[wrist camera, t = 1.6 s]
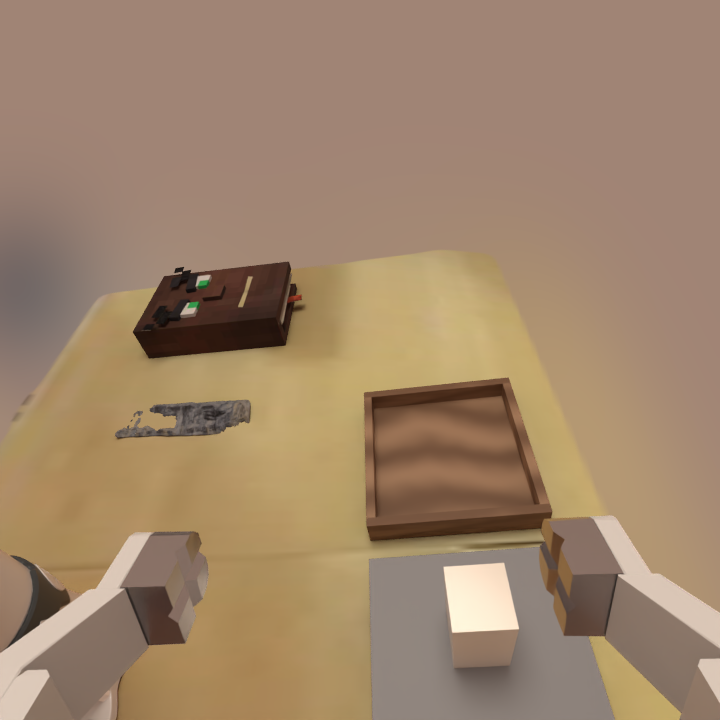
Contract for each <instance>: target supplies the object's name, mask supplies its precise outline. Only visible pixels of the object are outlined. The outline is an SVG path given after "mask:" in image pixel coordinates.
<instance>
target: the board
mask: <svg viewBox="0 0 720 720" xmlns="http://www.w3.org/2000/svg"><path fill="white" fill-rule="evenodd" d="M539 549H540V547H533V548H519V549H505V550H491V551H476V552H462V553H448V554H434V555H420V556H406V557H391V558H377V559H369V578H370V624H371V671H372V718H373V720H615V718H614V715H613V712H612V709H611V706H610V703H609V700H608V696H607V693H606V690H605V687H604V684H603V681H602V678H601V675H600V671H599V668H598V665H597V662H596V659H595V656H594V653H593V650H592V646H591V643H590V640H589V637H588V636H564V635H563V632H562V630H561V627H560V625H559V622H558V619H557V617H556V614H555V612H554V609H553V604H554V596H553V595H552V594H551V593H549V592H548V591H547V590H546V588H545V585H544V582H543V579H542V575H541V571H540V563H539ZM493 563H504V565H505V569H506V574H507V578H508V582H509V587H510V591H511V595H512V600H513V604H514V609H515V613H516V617H517V622H518V626H519V632H518V635H517V639H516V643H515V647H514V651H513V655H512V659H511V662H510V666H491V667H470V668H453V660H452V653H451V645H450V637H449V630H448V622H447V614H446V603H445V586H444V568H443V567H449V566H464V565H478V564H493Z"/></svg>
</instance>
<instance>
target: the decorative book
mask: <svg viewBox="0 0 720 720" xmlns="http://www.w3.org/2000/svg"><path fill="white" fill-rule="evenodd" d="M183 269H184V267H181V268H176V269H175V273H177V272H182V274H179V275H171V276H164V278H163V279H162V281H161V283H160V285H159V286H158V288H157V290H156V292H155V293H154V295H153V297H152V299H151V301H150V302H149V304H148V306H147V308H146V309H145V311H144V313H143V315H142V317H141V318H140V320H139V322H138V324H137V325H136V327H135V329H134V331H133V333H134V335H135V336H136V338H137V340H138V341H139V343H140V344H141V346H142V348H143V349H144V351H145V352H146V354H147V356H148V357H149V358H159V357H170V356H180V355H191V354H201V353H212V352H222V351H233V350H243V349H254V348H264V347H275V346H285V345H286V340H287V335H288V330H289V325H290V320H291V315H292V310H293V305H294V301H298V300H301V296H302V295H296V291H297V288H296V284H290V282H291V276H292V274H290V272H291V267H290V264H289V262H282V263H273V264H265V265H256V266H248V267H239V268H231V269H222V270H214V271H205V272H197V273H190V272H191V270H188V271H183ZM295 295H296V296H295Z"/></svg>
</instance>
